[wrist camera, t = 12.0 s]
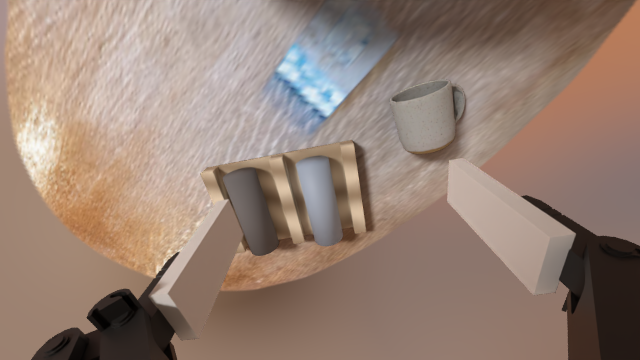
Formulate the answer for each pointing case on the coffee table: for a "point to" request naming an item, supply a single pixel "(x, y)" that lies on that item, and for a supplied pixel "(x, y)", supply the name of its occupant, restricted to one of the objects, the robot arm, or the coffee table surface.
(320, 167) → the gray dowel
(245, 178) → the charcoal rod
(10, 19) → the coffee table surface
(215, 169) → the slot rack
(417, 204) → the coffee table surface
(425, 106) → the ceramic mug
